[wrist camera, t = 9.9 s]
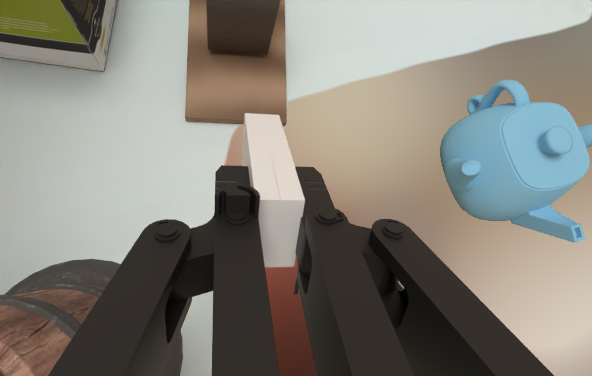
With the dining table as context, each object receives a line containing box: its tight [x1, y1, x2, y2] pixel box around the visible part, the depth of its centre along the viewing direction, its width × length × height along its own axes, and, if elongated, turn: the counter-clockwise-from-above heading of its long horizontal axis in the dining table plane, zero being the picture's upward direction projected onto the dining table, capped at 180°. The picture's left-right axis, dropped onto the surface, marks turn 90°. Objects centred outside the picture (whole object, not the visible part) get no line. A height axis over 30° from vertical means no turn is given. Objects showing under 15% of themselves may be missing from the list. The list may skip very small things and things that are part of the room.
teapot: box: [440, 80, 592, 242], centre depth 40 cm, size 15×14×11 cm
